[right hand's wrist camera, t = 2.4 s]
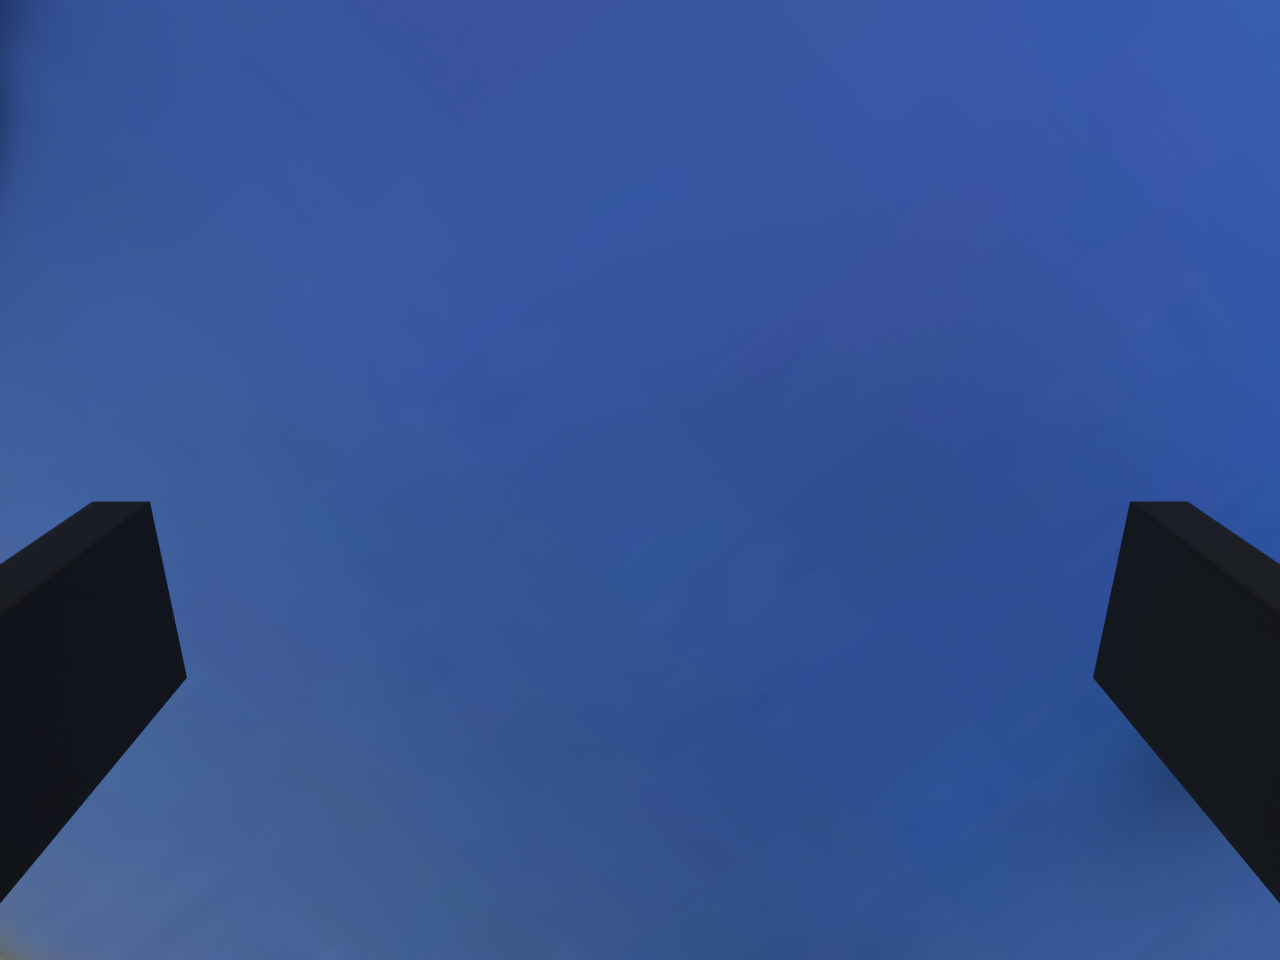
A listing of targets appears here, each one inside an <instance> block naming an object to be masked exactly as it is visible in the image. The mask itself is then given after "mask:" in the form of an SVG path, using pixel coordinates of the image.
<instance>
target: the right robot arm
mask: <svg viewBox="0 0 1280 960" xmlns="http://www.w3.org/2000/svg"><path fill="white" fill-rule="evenodd" d="M186 678H187V676H186V671H185V666H184V662H183V657H182V652H181V647H180V643H179V638H178V633H177V628H176V624H175V619H174V614H173V609H172V605H171V600H170V595H169V590H168V586H167V581H166V576H165V571H164V567H163V562H162V557H161V552H160V548H159V543H158V538H157V533H156V529H155V524H154V519H153V514H152V510H151V505H150V502H91V503H90V504H88V505H87V506H85V507H84V508H83V509H81V510H80V511H78V512H77V513H75V514H74V515H72V516H71V517H69V518H68V519H66V520H65V521H63V522H62V523H60V524H59V525H57V526H56V527H55V528H53V529H52V530H50V531H49V532H47V533H46V534H44V535H43V536H41V537H40V538H38V539H37V540H35V541H34V542H32V543H31V544H30V545H28V546H27V547H25V548H24V549H22V550H21V551H19V552H18V553H16V554H15V555H13V556H12V557H10V558H9V559H7V560H6V561H5V562H3V563H2V564H0V903H1V902H2V901H3V899H4V898H5V897H6V896H7V894H8V893H9V892H10V891H11V890H12V888H13V887H14V886H15V885H16V884H17V882H18V881H19V880H20V879H21V878H22V876H23V875H24V874H25V873H26V872H27V870H28V869H29V868H30V867H31V865H32V864H33V863H34V862H35V861H36V859H37V858H38V857H39V856H40V855H41V853H42V852H43V851H44V850H45V849H46V847H47V846H48V845H49V844H50V842H51V841H52V840H53V839H54V838H55V836H56V835H57V834H58V833H59V832H60V830H61V829H62V828H63V827H64V826H65V824H66V823H67V822H68V821H69V820H70V818H71V817H72V816H73V815H74V813H75V812H76V811H77V810H78V809H79V807H80V806H81V805H82V804H83V803H84V801H85V800H86V799H87V798H88V797H89V795H90V794H91V793H92V792H93V790H94V789H95V788H96V787H97V786H98V784H99V783H100V782H101V781H102V780H103V778H104V777H105V776H106V775H107V774H108V772H109V771H110V770H111V769H112V768H113V766H114V765H115V764H116V763H117V761H118V760H119V759H120V758H121V757H122V755H123V754H124V753H125V752H126V751H127V749H128V748H129V747H130V746H131V745H132V743H133V742H134V741H135V740H136V738H137V737H138V736H139V735H140V734H141V732H142V731H143V730H144V729H145V728H146V726H147V725H148V724H149V723H150V722H151V720H152V719H153V718H154V717H155V716H156V714H157V713H158V712H159V711H160V709H161V708H162V707H163V706H164V705H165V703H166V702H167V701H168V700H169V699H170V697H171V696H172V695H173V694H174V693H175V691H176V690H177V689H178V688H179V686H180V685H181V684H182V683H183V682H184V680H185V679H186ZM1093 678H1094V679H1095V680H1096V682H1097V683H1098V684H1099V685H1100V686H1101V688H1102V689H1103V690H1104V691H1105V693H1106V694H1107V695H1108V696H1109V697H1110V699H1111V700H1112V701H1113V702H1114V703H1115V705H1116V706H1117V707H1118V708H1119V709H1120V711H1121V712H1122V713H1123V714H1124V716H1125V717H1126V718H1127V719H1128V720H1129V722H1130V723H1131V724H1132V725H1133V726H1134V728H1135V729H1136V730H1137V731H1138V732H1139V734H1140V735H1141V736H1142V737H1143V738H1144V740H1145V741H1146V742H1147V743H1148V745H1149V746H1150V747H1151V748H1152V749H1153V751H1154V752H1155V753H1156V754H1157V755H1158V757H1159V758H1160V759H1161V760H1162V761H1163V763H1164V764H1165V765H1166V766H1167V768H1168V769H1169V770H1170V771H1171V772H1172V774H1173V775H1174V776H1175V777H1176V778H1177V780H1178V781H1179V782H1180V783H1181V784H1182V786H1183V787H1184V788H1185V789H1186V790H1187V792H1188V793H1189V794H1190V795H1191V797H1192V798H1193V799H1194V800H1195V801H1196V803H1197V804H1198V805H1199V806H1200V807H1201V809H1202V810H1203V811H1204V812H1205V813H1206V815H1207V816H1208V817H1209V818H1210V820H1211V821H1212V822H1213V823H1214V824H1215V826H1216V827H1217V828H1218V829H1219V830H1220V832H1221V833H1222V834H1223V835H1224V836H1225V838H1226V839H1227V840H1228V841H1229V842H1230V844H1231V845H1232V846H1233V847H1234V849H1235V850H1236V851H1237V852H1238V853H1239V855H1240V856H1241V857H1242V858H1243V859H1244V861H1245V862H1246V863H1247V864H1248V865H1249V867H1250V868H1251V869H1252V870H1253V872H1254V873H1255V874H1256V875H1257V876H1258V878H1259V879H1260V880H1261V881H1262V882H1263V884H1264V885H1265V886H1266V887H1267V888H1268V890H1269V891H1270V892H1271V893H1272V894H1273V896H1274V897H1275V898H1276V899H1277V901H1278V902H1279V903H1280V564H1278V563H1277V562H1275V561H1274V560H1273V559H1271V558H1270V557H1268V556H1267V555H1265V554H1264V553H1262V552H1261V551H1259V550H1258V549H1256V548H1255V547H1253V546H1252V545H1250V544H1249V543H1248V542H1246V541H1245V540H1243V539H1242V538H1240V537H1239V536H1237V535H1236V534H1234V533H1233V532H1231V531H1230V530H1228V529H1227V528H1225V527H1224V526H1223V525H1221V524H1220V523H1218V522H1217V521H1215V520H1214V519H1212V518H1211V517H1209V516H1208V515H1206V514H1205V513H1203V512H1202V511H1200V510H1199V509H1197V508H1196V507H1195V506H1193V505H1192V504H1190V503H1189V502H1130V505H1129V510H1128V514H1127V519H1126V524H1125V529H1124V533H1123V538H1122V543H1121V548H1120V552H1119V557H1118V562H1117V567H1116V571H1115V576H1114V581H1113V586H1112V590H1111V595H1110V600H1109V605H1108V609H1107V614H1106V619H1105V624H1104V628H1103V633H1102V638H1101V643H1100V647H1099V652H1098V657H1097V662H1096V666H1095V671H1094V676H1093Z"/></svg>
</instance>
